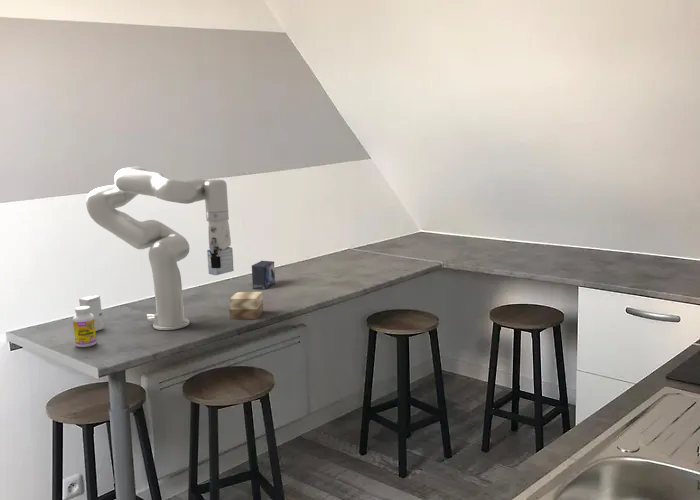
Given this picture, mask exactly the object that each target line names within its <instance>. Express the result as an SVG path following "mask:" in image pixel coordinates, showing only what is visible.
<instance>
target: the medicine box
mask: <svg viewBox="0 0 700 500" xmlns="http://www.w3.org/2000/svg"><path fill="white" fill-rule="evenodd" d="M216 252H217V251H216ZM206 253H207V254H206V255H207V267H208V270H207V271H208V274H209V275H212V276H219V275H223V274H228V273H231V272H234V270H235V269H234V255H233V253H234V252H233V247H232V246H231V247H230V246H229V247H227V248H226V249H224V250H221V249H220V253H219V256H220V261H221V268H211V257H210V248H209V249H207V251H206Z"/></svg>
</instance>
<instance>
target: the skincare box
mask: <svg viewBox="0 0 700 500" xmlns="http://www.w3.org/2000/svg"><path fill="white" fill-rule="evenodd" d="M78 301H79V307H80V306H90V313H91V314H93V315H94V321H95V331H96V332H98V331H100V330H103V329H104V322H103V321H104V320H103V314H102V313H103V312H102V305H101V296H100V295H88V296H84V297H81V298H79V299H78Z"/></svg>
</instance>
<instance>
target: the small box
mask: <svg viewBox="0 0 700 500" xmlns="http://www.w3.org/2000/svg"><path fill="white" fill-rule="evenodd" d="M275 270H276V269H275V261H269V260H260V261H258V262H256V263H254V264H252V265H251V279H252V290H253V289H255V290H267V289H268V288H271V287H272V286H274V285H276V276H275V275H276V273H275Z"/></svg>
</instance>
